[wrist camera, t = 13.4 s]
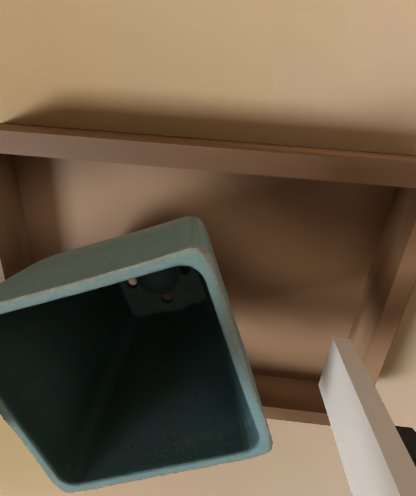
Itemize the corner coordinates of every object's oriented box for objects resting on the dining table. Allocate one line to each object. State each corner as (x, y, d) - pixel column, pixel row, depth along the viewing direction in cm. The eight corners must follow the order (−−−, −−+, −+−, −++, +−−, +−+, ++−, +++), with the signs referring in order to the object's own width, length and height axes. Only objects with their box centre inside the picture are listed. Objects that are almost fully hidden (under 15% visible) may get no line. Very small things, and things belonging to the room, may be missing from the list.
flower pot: (118, 348, 21) (60, 500, 12) (56, 227, 18) (-78, 324, 9) (247, 315, 20) (277, 456, 12) (206, 181, 17) (207, 243, 8)
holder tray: (340, 383, 23) (358, 428, 20) (44, 351, 24) (15, 388, 20) (415, 155, 16) (460, 167, 13) (2, 122, 17) (-51, 126, 14)
